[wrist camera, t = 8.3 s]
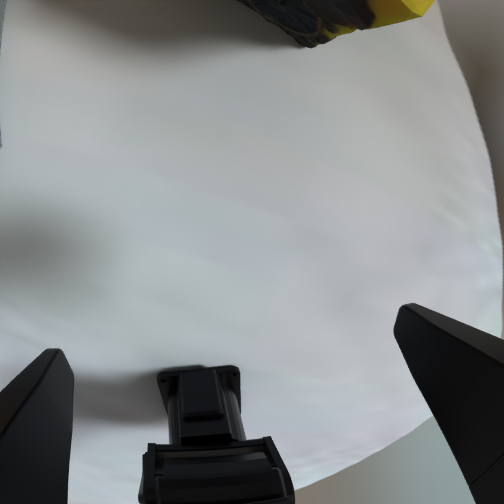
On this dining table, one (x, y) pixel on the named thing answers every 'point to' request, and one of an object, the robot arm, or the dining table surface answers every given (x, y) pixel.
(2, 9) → the base
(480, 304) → the dining table surface
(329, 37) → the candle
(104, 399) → the dining table surface
